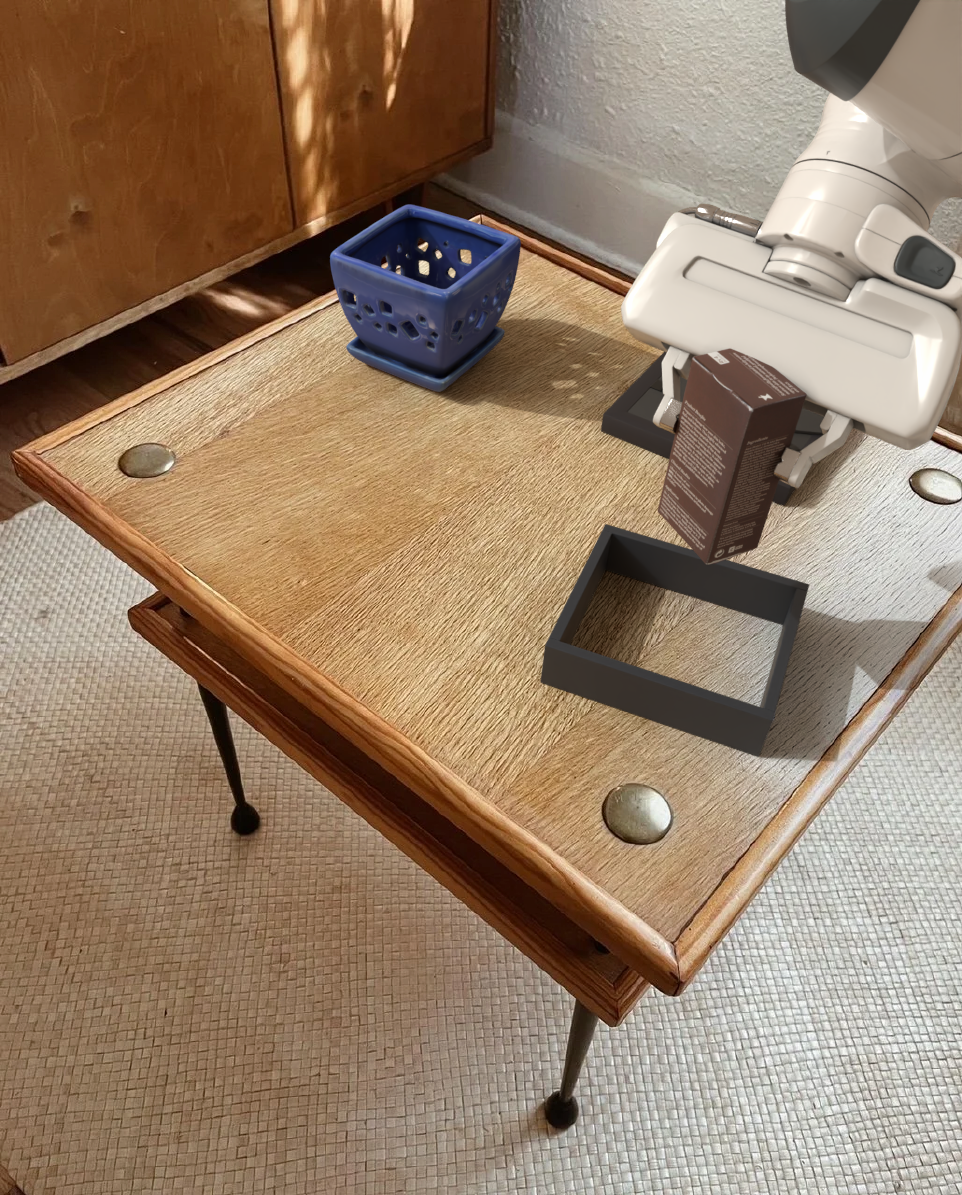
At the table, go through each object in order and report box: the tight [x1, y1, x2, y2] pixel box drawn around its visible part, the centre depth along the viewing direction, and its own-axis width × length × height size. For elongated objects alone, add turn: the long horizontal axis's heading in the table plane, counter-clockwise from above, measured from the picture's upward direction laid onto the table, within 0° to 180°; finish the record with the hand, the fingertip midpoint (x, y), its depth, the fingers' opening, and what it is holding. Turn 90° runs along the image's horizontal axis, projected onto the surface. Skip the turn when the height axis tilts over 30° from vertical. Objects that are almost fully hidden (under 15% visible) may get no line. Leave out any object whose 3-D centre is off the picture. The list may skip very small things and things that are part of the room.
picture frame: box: [600, 351, 824, 507], centre depth 93 cm, size 13×2×18 cm
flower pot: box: [329, 204, 522, 393], centre depth 96 cm, size 13×13×12 cm
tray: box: [539, 523, 810, 757], centre depth 73 cm, size 16×14×4 cm
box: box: [657, 348, 807, 565], centre depth 64 cm, size 6×4×12 cm
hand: (724, 455), depth 63 cm, fingers closed on box, 7 cm apart
